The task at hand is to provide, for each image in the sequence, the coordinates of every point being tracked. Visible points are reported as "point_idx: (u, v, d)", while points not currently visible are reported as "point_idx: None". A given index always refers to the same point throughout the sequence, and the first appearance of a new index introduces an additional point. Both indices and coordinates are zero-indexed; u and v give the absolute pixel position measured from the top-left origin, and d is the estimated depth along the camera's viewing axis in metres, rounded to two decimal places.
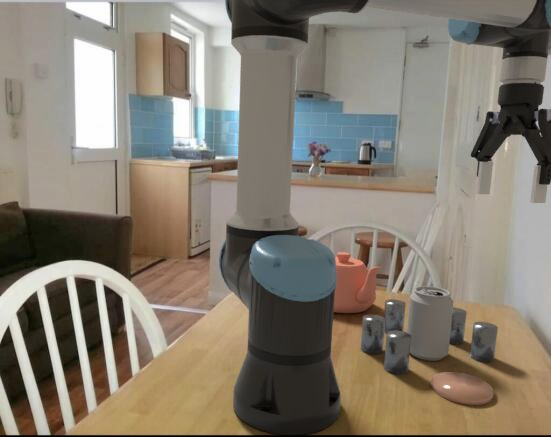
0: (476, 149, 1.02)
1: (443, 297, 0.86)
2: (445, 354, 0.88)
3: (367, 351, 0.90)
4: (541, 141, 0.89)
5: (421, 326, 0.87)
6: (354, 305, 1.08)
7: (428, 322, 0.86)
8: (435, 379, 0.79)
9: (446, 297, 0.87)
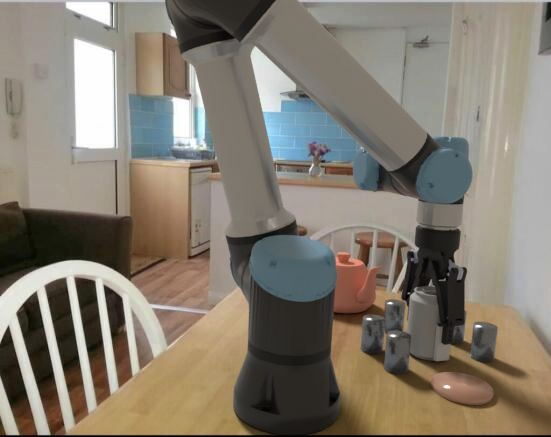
0: (405, 291, 0.95)
1: None
2: None
3: (367, 351, 0.90)
4: None
5: (421, 326, 0.87)
6: (354, 305, 1.08)
7: (428, 322, 0.86)
8: (435, 379, 0.79)
9: None
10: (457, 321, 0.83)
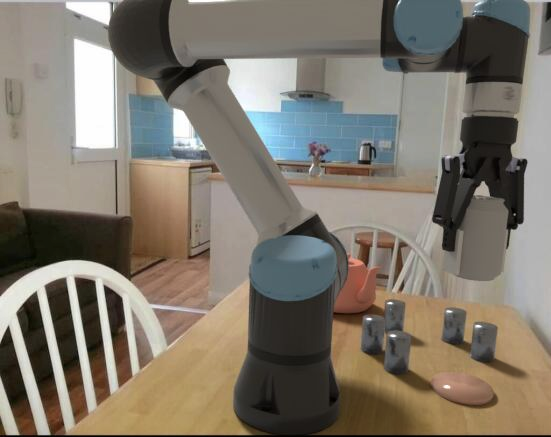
0: None
1: None
2: (461, 271, 0.72)
3: (367, 351, 0.90)
4: (462, 196, 0.71)
5: None
6: (354, 305, 1.08)
7: None
8: (435, 379, 0.79)
9: None
10: (437, 218, 0.71)
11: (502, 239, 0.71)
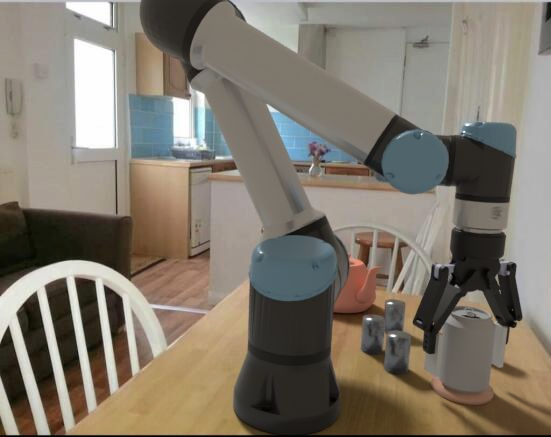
0: None
1: (454, 315, 0.75)
2: (450, 384, 0.75)
3: (367, 351, 0.90)
4: (446, 302, 0.73)
5: None
6: (354, 305, 1.08)
7: None
8: (435, 379, 0.79)
9: (458, 317, 0.74)
10: (417, 322, 0.73)
11: (490, 355, 0.74)
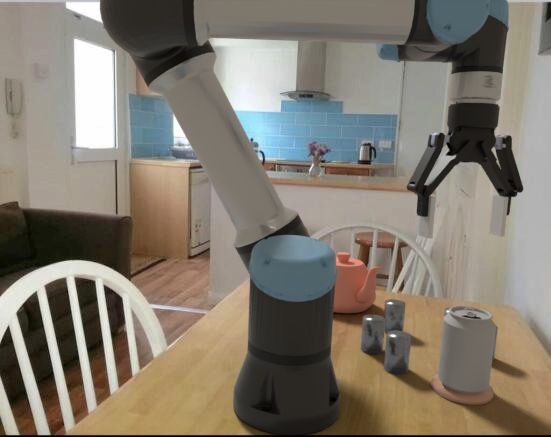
0: None
1: (454, 315, 0.74)
2: (450, 384, 0.75)
3: (367, 351, 0.90)
4: (440, 169, 0.78)
5: None
6: (354, 305, 1.08)
7: None
8: (435, 379, 0.79)
9: (458, 318, 0.74)
10: (411, 185, 0.78)
11: (490, 355, 0.74)
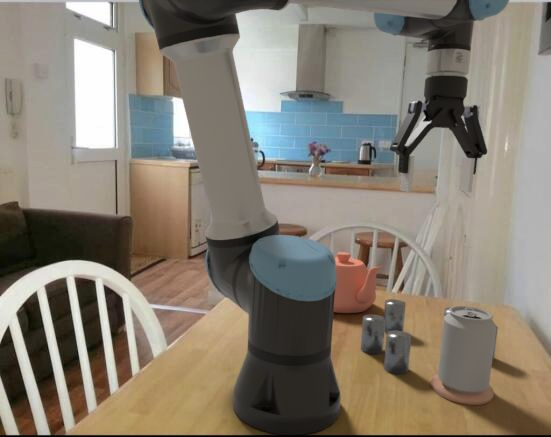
0: None
1: (454, 315, 0.74)
2: (450, 384, 0.75)
3: (367, 351, 0.90)
4: (418, 132, 0.91)
5: None
6: (354, 305, 1.08)
7: None
8: (435, 379, 0.79)
9: (458, 317, 0.74)
10: (394, 146, 0.91)
11: (490, 355, 0.74)
